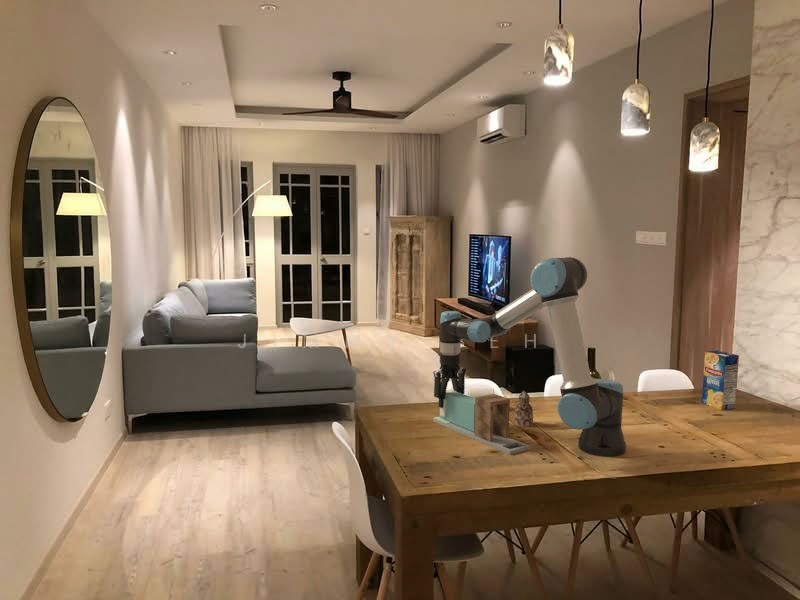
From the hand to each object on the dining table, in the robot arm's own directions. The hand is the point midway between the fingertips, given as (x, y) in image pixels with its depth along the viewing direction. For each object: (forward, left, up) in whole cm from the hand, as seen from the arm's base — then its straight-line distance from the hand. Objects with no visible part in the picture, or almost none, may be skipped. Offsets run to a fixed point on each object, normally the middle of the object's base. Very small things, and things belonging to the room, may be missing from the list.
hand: (449, 414), depth 248 cm
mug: (+10, -23, -3) cm, 26 cm away
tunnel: (-24, 0, -2) cm, 24 cm away
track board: (-17, 0, -3) cm, 17 cm away
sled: (-7, 0, -1) cm, 8 cm away
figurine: (-16, -22, -3) cm, 28 cm away
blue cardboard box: (-41, -107, -3) cm, 115 cm away
